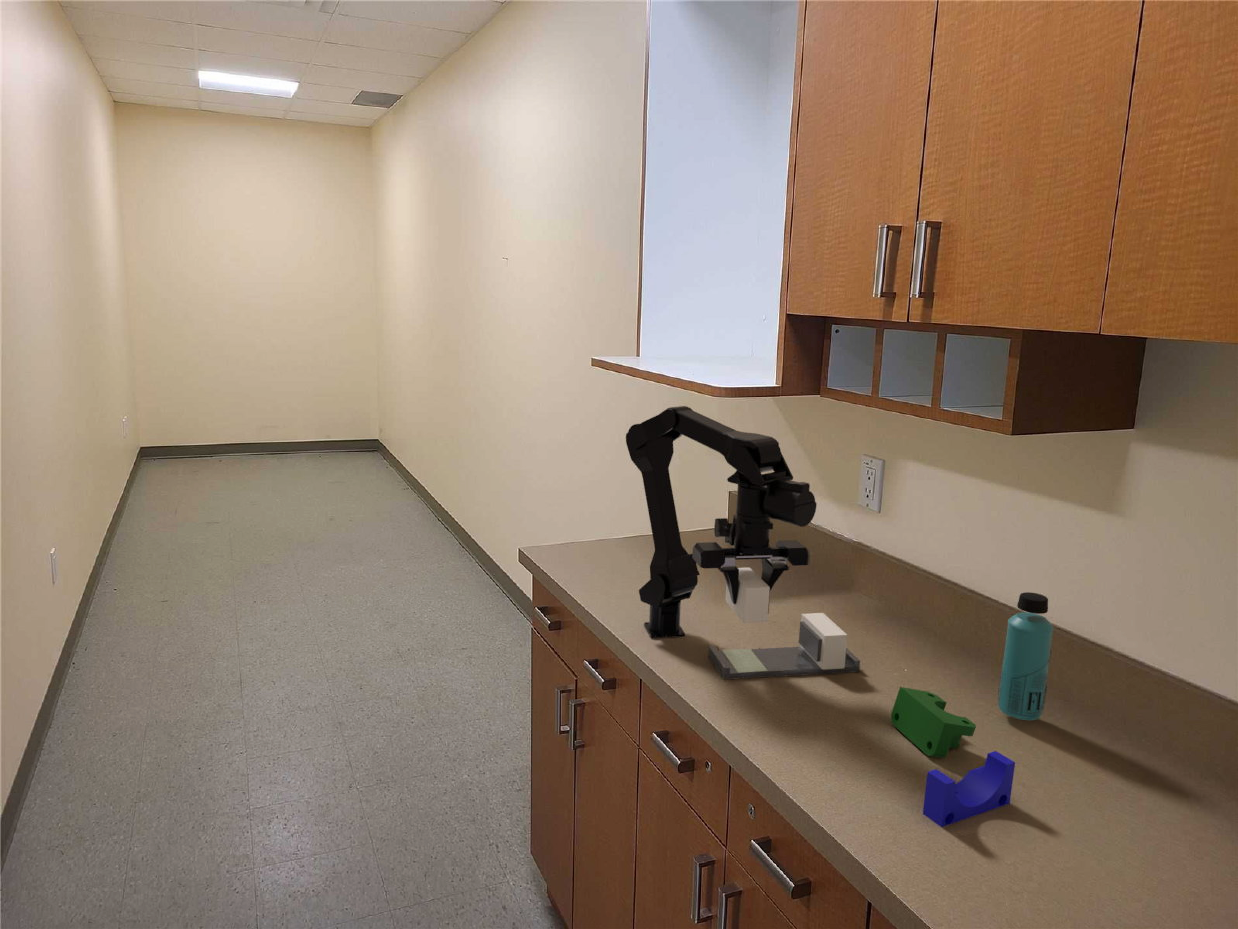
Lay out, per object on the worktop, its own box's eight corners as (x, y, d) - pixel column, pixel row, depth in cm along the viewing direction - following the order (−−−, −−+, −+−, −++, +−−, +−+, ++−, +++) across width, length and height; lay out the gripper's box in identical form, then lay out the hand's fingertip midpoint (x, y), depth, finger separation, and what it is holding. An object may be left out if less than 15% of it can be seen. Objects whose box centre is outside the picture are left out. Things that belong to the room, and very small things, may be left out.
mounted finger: (796, 645, 157) (798, 614, 156) (820, 644, 158) (822, 612, 157) (818, 669, 148) (821, 636, 147) (844, 668, 149) (847, 635, 147)
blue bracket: (980, 786, 117) (986, 745, 115) (1009, 805, 113) (1015, 762, 111) (913, 808, 111) (918, 765, 110) (941, 828, 107) (946, 784, 106)
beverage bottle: (1025, 734, 130) (1042, 606, 126) (985, 715, 136) (1001, 592, 132) (1051, 723, 134) (1068, 599, 130) (1011, 705, 139) (1027, 585, 135)
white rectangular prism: (744, 623, 143) (746, 588, 142) (725, 601, 153) (727, 568, 152) (770, 621, 144) (772, 587, 143) (750, 600, 154) (752, 567, 153)
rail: (708, 656, 154) (708, 646, 154) (836, 650, 159) (837, 639, 158) (723, 679, 145) (724, 668, 145) (859, 671, 150) (860, 660, 149)
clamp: (951, 779, 126) (986, 738, 121) (916, 774, 124) (950, 733, 120) (917, 712, 136) (948, 672, 131) (884, 707, 134) (915, 666, 129)
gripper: (789, 499, 155) (783, 584, 158) (686, 501, 151) (681, 588, 154) (814, 516, 144) (807, 607, 147) (704, 519, 140) (699, 611, 144)
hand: (747, 602), depth 148 cm, fingers closed on white rectangular prism, 4 cm apart
